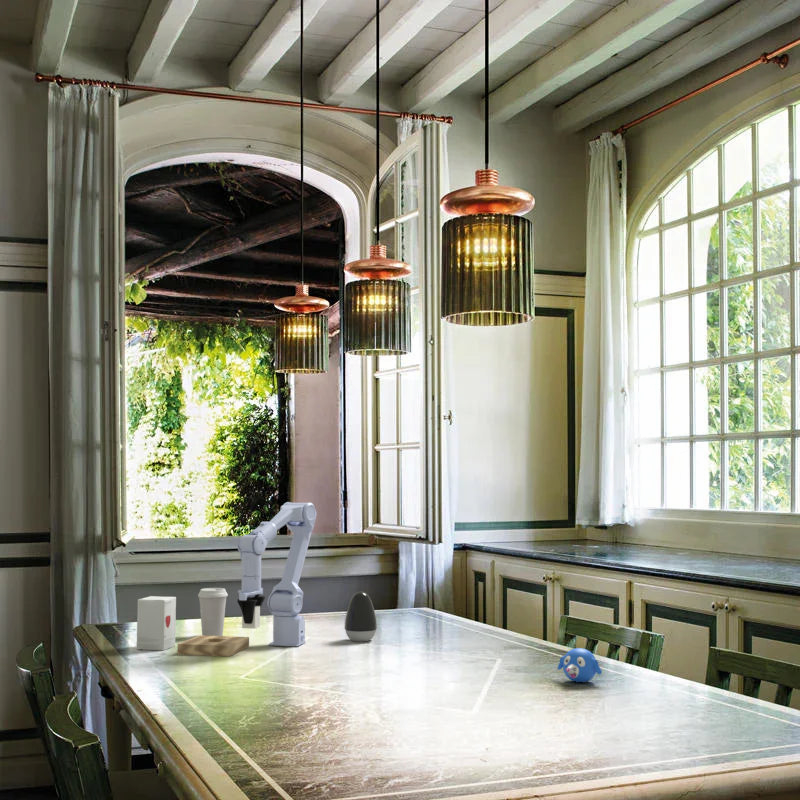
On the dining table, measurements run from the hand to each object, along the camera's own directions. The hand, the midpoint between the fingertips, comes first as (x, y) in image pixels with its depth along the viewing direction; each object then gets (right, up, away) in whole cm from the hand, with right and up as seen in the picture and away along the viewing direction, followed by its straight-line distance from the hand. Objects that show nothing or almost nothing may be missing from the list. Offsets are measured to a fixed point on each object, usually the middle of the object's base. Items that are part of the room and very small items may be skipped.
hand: (251, 622), depth 305 cm
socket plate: (-12, -9, +3) cm, 15 cm away
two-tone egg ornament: (+31, -10, +21) cm, 39 cm away
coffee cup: (-17, -11, +30) cm, 36 cm away
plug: (0, -2, 0) cm, 2 cm away
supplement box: (-30, -10, +8) cm, 32 cm away
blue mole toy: (+88, -6, -45) cm, 99 cm away
